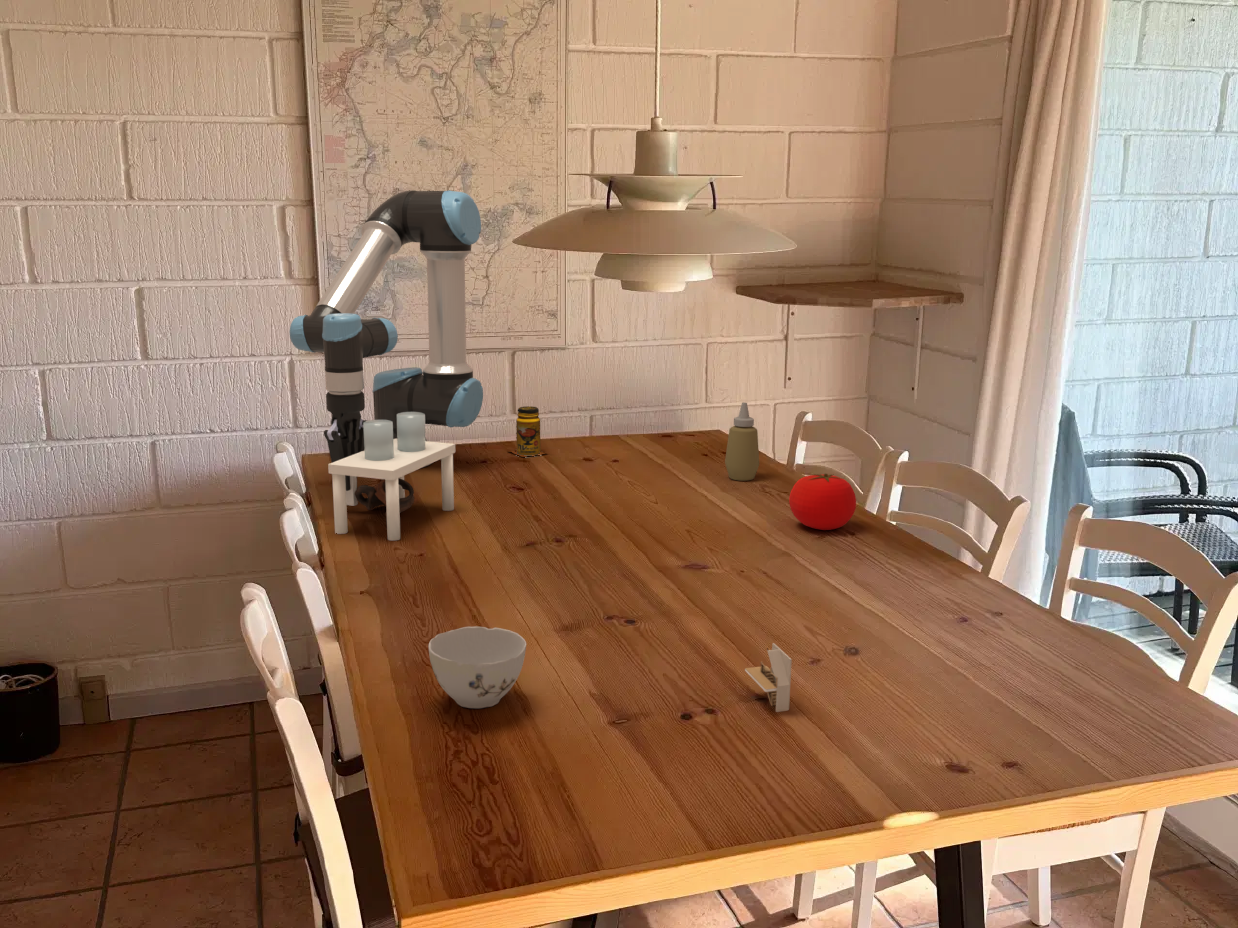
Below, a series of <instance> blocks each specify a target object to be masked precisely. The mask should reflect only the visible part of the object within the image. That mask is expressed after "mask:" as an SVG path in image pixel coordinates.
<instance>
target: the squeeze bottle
mask: <svg viewBox="0 0 1238 928" xmlns="http://www.w3.org/2000/svg"><path fill="white" fill-rule="evenodd" d="M754 421H755V418H753V417H750V413H749V407H748V402H746V401H745V402H741V405H740V408H739V413H738V416H735V417H734V418H733V425H732V426H731V427H730V428H729V430H728V438H727V445H726V450H725V451H726V452H725V460H724V464H725V468H726V471H727V475H728V478H729V479H731V480H734V481H742V482H744V481H745V482H746V481H752V480H754V479H755V477H756V474H757V472H758V469H759V466H760V456H759V455H760V453H759V435H758V429H757V428H756V427H755V426H754V425H755V424H754V423H755V422H754Z"/></svg>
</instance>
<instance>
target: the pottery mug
mask: <svg viewBox="0 0 1238 928" xmlns="http://www.w3.org/2000/svg"><path fill="white" fill-rule="evenodd" d="M398 484H399V485H401V486H402V489H405V490H406V491H408V492H409V493H408V494H409V495H407V496H405V498H399V512H400V513H403V512H405V511H407V510H409V509H410V508H411V507H412V505H414V502H415V495H414V494H415V491H414V488H413V486H412V485H411V483H409V482H408V481H407V480H405V479H404V480H402V479H400V478H398ZM364 494H365V495H366V497H365V496H364ZM355 496H356V499H357V500H358V504H361V505H363V506H364V507H365V508H366V510H367V511H373V510H374V509H375V508H376V507H379V506H383V505H384V506H386V484H385V479H380V481H379V483H378V484H376V485H375V486H370V485H367V484H362V485H359V486H357V490H356V491H355ZM385 517H387V511H386V512H385Z"/></svg>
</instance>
